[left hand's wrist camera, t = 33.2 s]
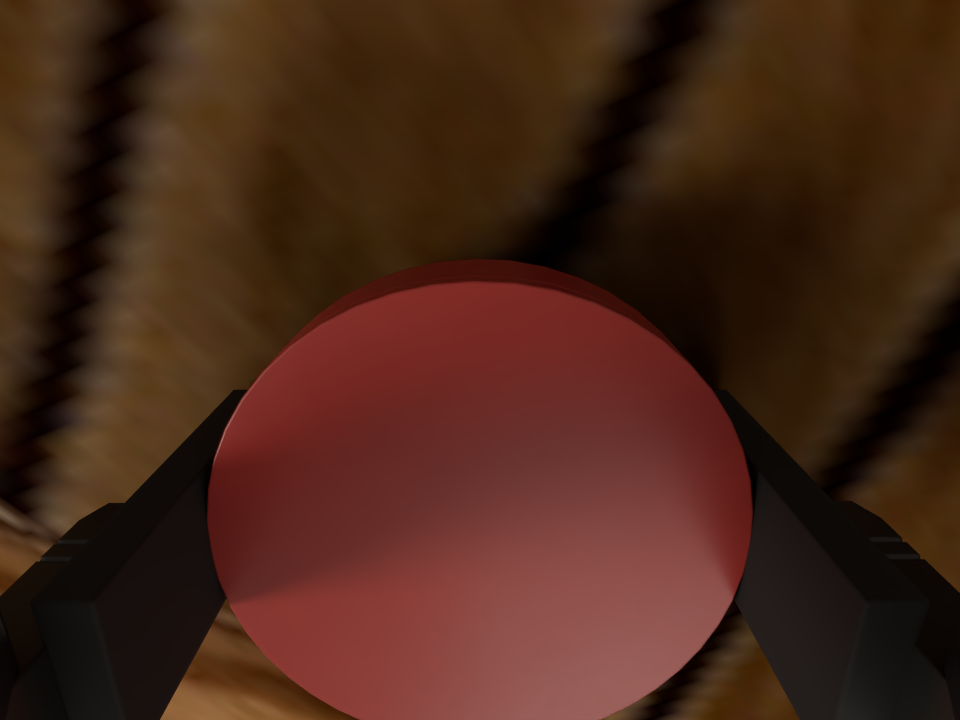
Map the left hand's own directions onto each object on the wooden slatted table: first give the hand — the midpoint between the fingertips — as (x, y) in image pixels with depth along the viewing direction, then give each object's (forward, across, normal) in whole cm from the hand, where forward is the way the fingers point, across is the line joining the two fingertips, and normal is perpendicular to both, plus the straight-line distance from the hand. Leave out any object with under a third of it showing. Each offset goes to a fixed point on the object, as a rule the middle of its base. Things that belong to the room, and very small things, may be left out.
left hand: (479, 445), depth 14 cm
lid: (-3, 0, 0) cm, 3 cm away
